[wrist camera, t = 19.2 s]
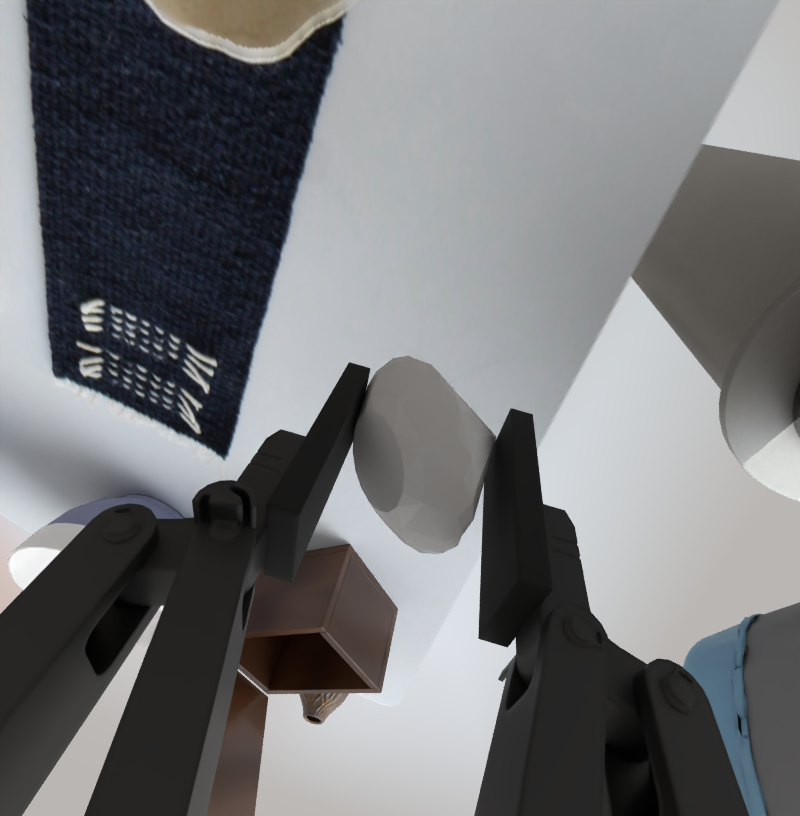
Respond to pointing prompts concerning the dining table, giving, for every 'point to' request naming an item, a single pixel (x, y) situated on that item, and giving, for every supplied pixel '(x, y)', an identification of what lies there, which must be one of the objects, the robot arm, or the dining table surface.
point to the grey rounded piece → (420, 455)
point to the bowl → (63, 530)
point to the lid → (240, 753)
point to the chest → (319, 628)
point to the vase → (320, 705)
